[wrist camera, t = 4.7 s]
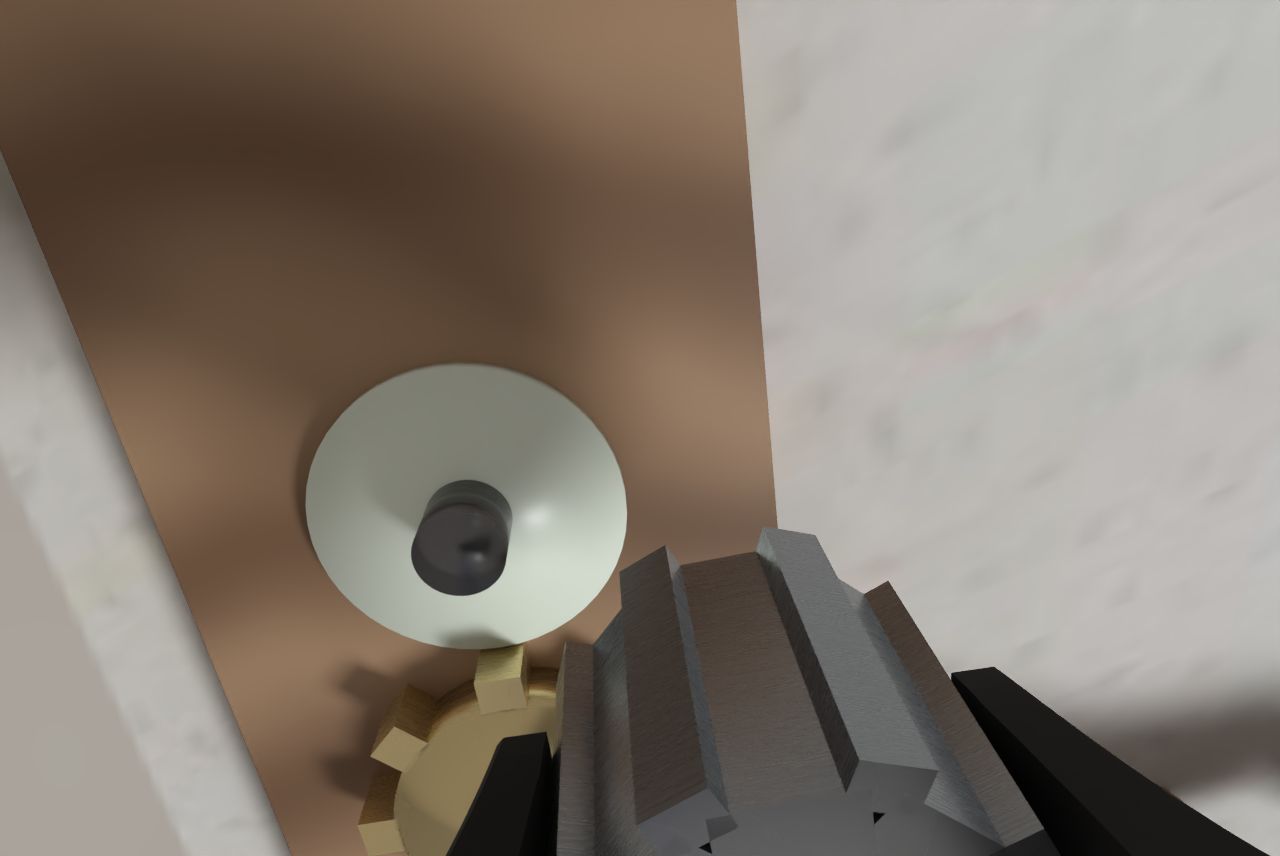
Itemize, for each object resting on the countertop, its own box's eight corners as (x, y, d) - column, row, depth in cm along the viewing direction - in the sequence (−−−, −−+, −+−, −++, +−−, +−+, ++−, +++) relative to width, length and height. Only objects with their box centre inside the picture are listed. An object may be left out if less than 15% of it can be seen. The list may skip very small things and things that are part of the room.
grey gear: (768, 862, 14) (842, 1176, 10) (495, 732, 13) (450, 1036, 9) (986, 641, 13) (1179, 903, 9) (702, 464, 11) (768, 676, 7)
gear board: (790, 828, 23) (827, 956, 20) (347, 896, 23) (305, 1037, 20) (713, -88, 15) (753, -147, 11) (4, 13, 15) (-178, -15, 11)
